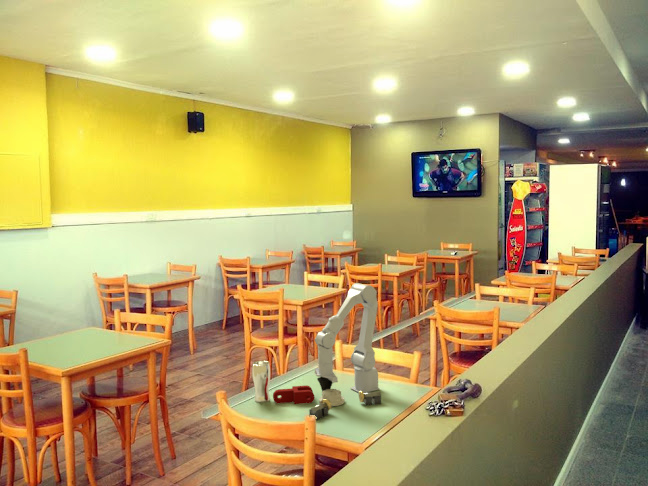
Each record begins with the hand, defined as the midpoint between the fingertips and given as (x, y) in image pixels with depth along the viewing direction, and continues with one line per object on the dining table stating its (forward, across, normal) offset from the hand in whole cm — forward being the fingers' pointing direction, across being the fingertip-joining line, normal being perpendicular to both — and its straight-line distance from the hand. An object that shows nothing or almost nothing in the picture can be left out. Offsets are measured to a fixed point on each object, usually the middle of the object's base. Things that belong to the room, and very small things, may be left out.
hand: (326, 395), depth 234 cm
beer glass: (+1, -13, -22) cm, 26 cm away
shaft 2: (+1, +14, +11) cm, 18 cm away
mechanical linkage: (+2, -5, -12) cm, 13 cm away
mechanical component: (+1, +5, 0) cm, 5 cm away
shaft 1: (+1, +14, -11) cm, 18 cm away
